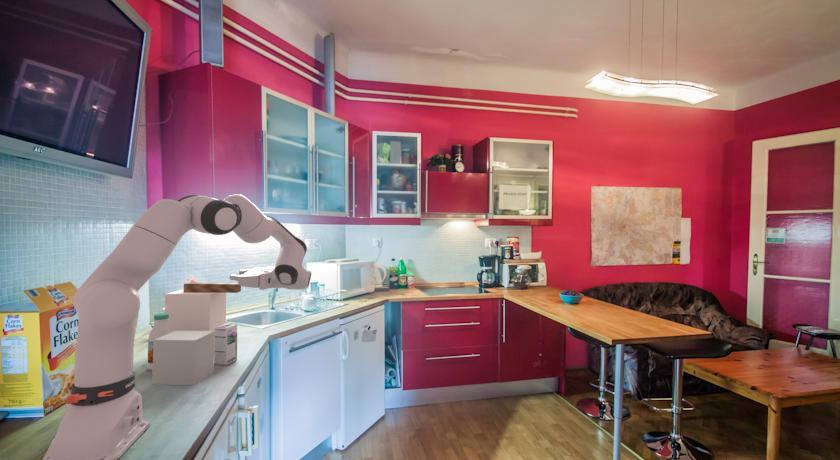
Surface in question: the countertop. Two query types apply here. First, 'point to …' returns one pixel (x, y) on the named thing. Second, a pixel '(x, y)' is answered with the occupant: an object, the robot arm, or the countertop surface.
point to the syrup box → (225, 344)
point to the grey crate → (183, 357)
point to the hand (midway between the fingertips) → (235, 274)
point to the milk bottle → (157, 334)
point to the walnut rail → (212, 287)
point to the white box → (195, 310)
